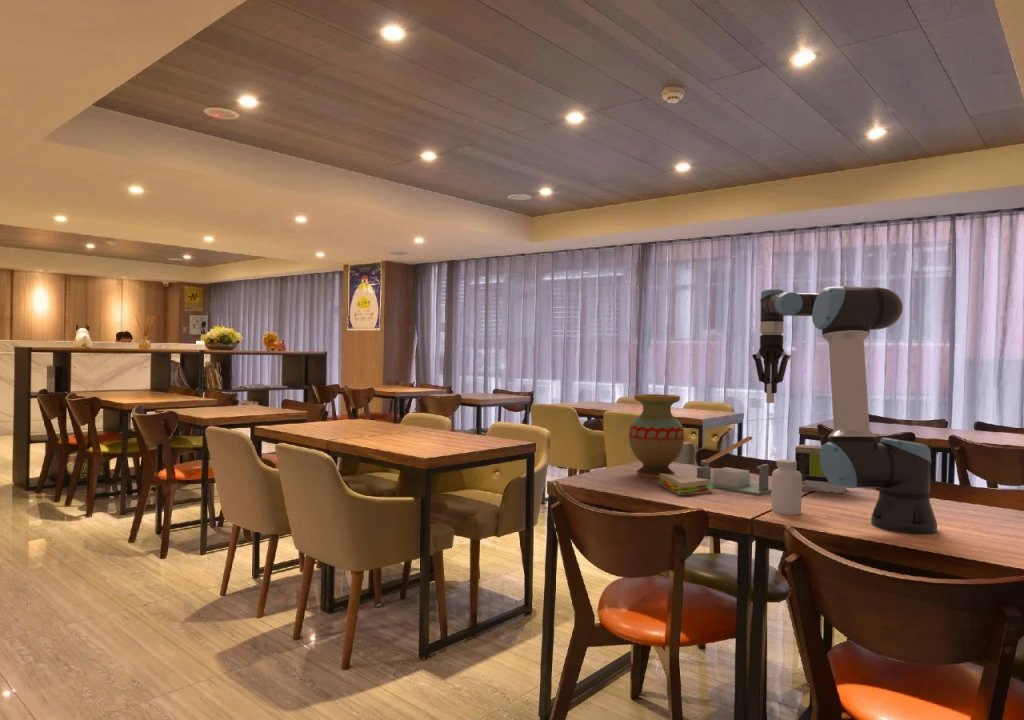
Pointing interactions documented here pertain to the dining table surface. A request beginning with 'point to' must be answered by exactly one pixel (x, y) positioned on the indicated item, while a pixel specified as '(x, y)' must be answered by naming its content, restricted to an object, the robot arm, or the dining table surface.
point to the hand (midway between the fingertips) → (770, 402)
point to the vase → (656, 435)
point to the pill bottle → (786, 488)
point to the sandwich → (685, 484)
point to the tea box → (813, 470)
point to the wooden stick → (724, 452)
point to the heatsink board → (737, 479)
